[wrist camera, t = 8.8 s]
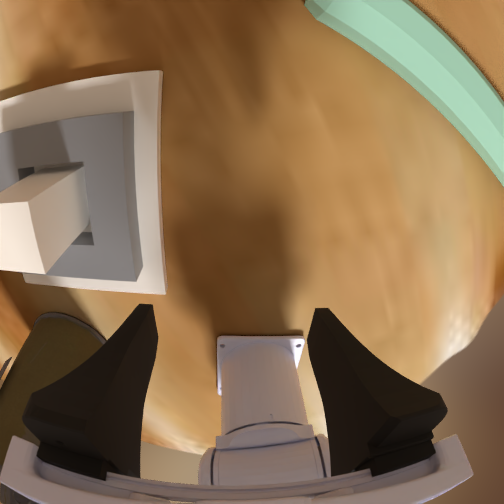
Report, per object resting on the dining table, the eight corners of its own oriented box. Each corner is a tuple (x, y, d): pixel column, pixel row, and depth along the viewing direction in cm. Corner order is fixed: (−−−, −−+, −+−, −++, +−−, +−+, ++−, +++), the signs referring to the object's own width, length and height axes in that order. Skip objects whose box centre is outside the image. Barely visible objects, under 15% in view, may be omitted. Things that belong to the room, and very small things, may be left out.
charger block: (93, 219, 19) (45, 274, 12) (50, 219, 18) (-3, 269, 12) (87, 164, 17) (27, 201, 11) (42, 168, 16) (-20, 205, 10)
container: (317, -30, 8) (548, 213, 15) (345, -66, 8) (551, 157, 14) (279, 27, 14) (500, 208, 20) (309, -18, 14) (508, 158, 20)
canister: (136, 365, 28) (104, 546, 10) (83, 384, 30) (47, 524, 12) (60, 293, 23) (-30, 487, 5) (19, 327, 25) (-48, 470, 7)
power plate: (167, 286, 23) (161, 311, 20) (30, 276, 22) (15, 295, 19) (162, 71, 15) (150, 66, 13) (1, 102, 14) (-23, 107, 11)
